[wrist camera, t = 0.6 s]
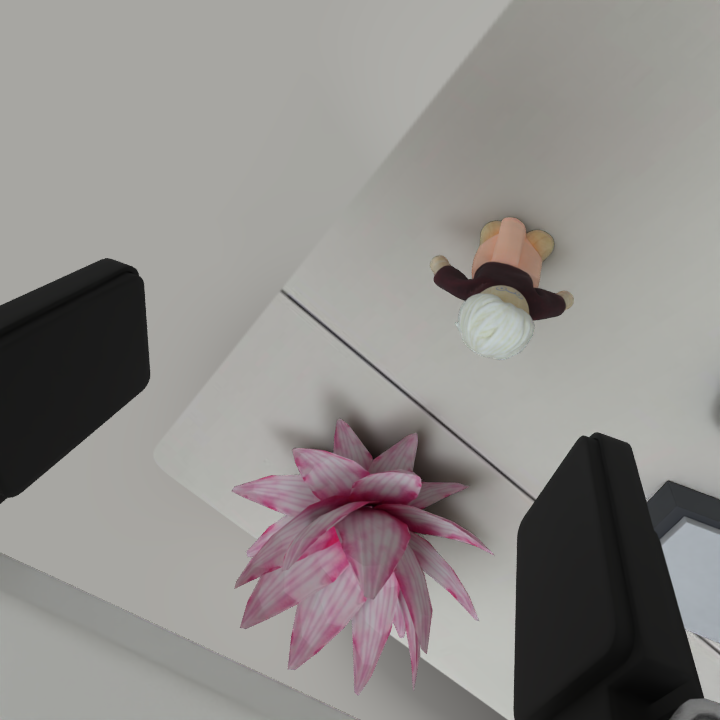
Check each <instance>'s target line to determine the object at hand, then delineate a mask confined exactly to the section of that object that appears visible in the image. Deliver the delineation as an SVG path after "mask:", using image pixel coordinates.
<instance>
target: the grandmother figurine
mask: <svg viewBox="0 0 720 720" xmlns="http://www.w3.org/2000/svg"><path fill="white" fill-rule="evenodd" d="M553 248H554V241H553V238H552V237H551V236H550V235H549V234H548V233H546V232H544V231H541V230H534V231H531V232H528V233H527V234H526V229H525V226H524V224H523V223H522V222H521V221H519V220H518V219H516V218H511V217H506V218H504V219H503V220H502V222H501V221H492V222H489V223H487V224H486V225H485V226H484V227H483V229H482V231H481V236H480V246H479V248H478V250H477V252H476V254H475V257H474V260H473V265H472V279H469V280H468V278H467V277H466V276H465V275H464V274H463V273H461V272H460V271H459V270H457V269H456V268H454V267H453V266H451V265H450V264H449V262H448V260H447V259H446V258H445V257H444V256H442V255H438V256H435V257H434V258H433V259H432V260H431V262H430V268H431V270H432V271H433V272H434V282H435V283H436V284H437V286H439V287H440V288H442V289H444V290H445V291H447V292H449V293H450V294H452V295H454V296H455V297H457V298H459V299H462V300H465V302H464V303H463V304H462V306H461V308H460V311H459V316H458V322H457V323H456V322H455V324H456V326H457V328H458V330H459V331H460V333H461V336H462V339H463V341H464V343H465V344H466V345H467V346H468V348H469V349H470V350H472V351H474V352H475V353H477V354H479V355H481V356H484V357H487V358H495V359H498V360H504V359H508V358H510V357H512V356H513V355H516V354H518V353H520V352H521V351H522V350H523V349H524V348H525V347H526V345H527V344H528V342H529V341H530V339H531V338H532V336H533V333H534V322H533V320H541V319H547V318H551V317H556V316H559V315H561V314H562V313H563V312H564V311H565V310H566V309H569V308H570V307H571V306H572V305H573V302H574V298H573V295H572V294H571V293H570V292H568V291H560V292H558V293H552V292H550V291H546V290H543V289H540V288H538V286H539V282H540V273H541V268H542V262H543V261H544V260H545V259H546V258H547V257H548V256H549V255H550V254H551V252H552V251H553Z"/></svg>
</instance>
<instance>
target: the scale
mask: <svg viewBox="0 0 720 720" xmlns="http://www.w3.org/2000/svg"><path fill="white" fill-rule="evenodd" d="M647 506H648V510H649V513H650V517H651V521H652V524H653V528H654V531H655V532H656V533H657V535H658V537H659V539H660V542H661V546H662V549H663V553H664V556H665V560H666V563H667V567H668V571H669V574H670V578H671V581H672V585H673V588H674V592H675V596H676V599H677V603H678V606H679V610H680V613H681V617H682V621H683V624H684V628H685V630H688V631H690V632H693V633H695V634H698V635H700V636H702V637H705V638H707V639H710V640H712V641H715V642H717V643H720V500H719V499H716V498H713V497H711V496H708V495H705V494H702V493H700V492H697V491H694V490H692V489H689V488H686V487H684V486H681V485H678V484H676V483H673V482H670V481H667V482H666V483H665V485H664V486H663V487H662V488H661V489H660V490H659V491H658V492H657V493H656V494H655V495H654V496H653V497H652V498H651V499H650V500H649V501H648V502H647Z"/></svg>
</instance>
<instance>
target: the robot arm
mask: <svg viewBox="0 0 720 720" xmlns="http://www.w3.org/2000/svg"><path fill="white" fill-rule="evenodd" d="M146 321H147V320H146V307H145V292H144V282H143V280H142V278H141V277H140V276H139V273H138V271H137V270H136V269H135V268H133V267H132V266H129V265H127V264H123V263H121V262H118V261H115V260H113V259H108V258H105V259H102V260H100V261H97V262H95V263H93V264H91V265H88V266H86V267H84V268H82V269H80V270H77V271H75V272H73V273H71V274H69V275H67V276H64V277H62V278H60V279H58V280H56V281H54V282H51V283H49V284H47V285H45V286H43V287H40V288H38V289H36V290H34V291H31V292H29V293H27V294H25V295H23V296H20V297H18V298H16V299H14V300H12V301H10V302H7V303H5V304H3V305H0V504H1V503H2V502H3V501H4V500H5V499H7V498H10V497H14V496H17V495H19V494H20V493H21V492H23V491H24V490H25V489H26V488H27V487H29V486H30V485H31V484H32V483H33V482H35V481H36V480H37V479H38V478H39V477H40V476H42V475H43V474H44V473H45V472H47V471H48V470H49V469H50V468H51V467H52V466H54V465H55V464H56V463H57V462H58V461H60V460H61V459H62V458H63V457H64V456H66V455H67V454H68V453H69V452H70V451H71V450H72V449H74V448H75V447H76V446H77V445H79V444H80V443H81V442H82V441H83V440H85V439H86V438H87V437H88V436H89V435H90V434H92V433H93V432H94V431H95V430H96V429H98V428H99V427H100V426H101V425H102V424H103V423H105V422H106V421H107V420H108V419H109V418H110V417H112V416H113V415H114V414H115V413H116V412H118V411H119V410H120V409H121V408H122V407H124V406H125V405H126V404H127V403H128V402H129V401H131V400H132V399H133V398H134V397H136V396H137V395H138V394H139V393H140V392H141V391H143V389H145V387H146V386H147V384H148V382H149V379H150V364H149V351H148V336H147V322H146ZM514 718H515V720H720V703H717V702H714V701H711V700H708V699H705V698H704V696H703V692H702V688H701V685H700V681H699V678H698V674H697V671H696V667H695V663H694V660H693V656H692V653H691V649H690V646H689V642H688V638H687V635H686V631H685V628H684V624H683V621H682V617H681V613H680V610H679V606H678V603H677V599H676V596H675V592H674V588H673V585H672V581H671V578H670V574H669V571H668V567H667V563H666V560H665V556H664V553H663V549H662V546H661V542H660V539H659V537H658V535H657V533H656V532H655V531H654V528H653V524H652V521H651V517H650V513H649V510H648V506H647V502H646V499H645V495H644V491H643V488H642V484H641V480H640V477H639V473H638V469H637V466H636V462H635V459H634V455H633V451H632V448H631V446H630V444H628V443H626V442H624V441H621V440H618V439H615V438H612V437H610V436H607V435H604V434H601V433H598V432H597V433H594V434H592V435H591V436H590V437H587V436H581V437H580V438H579V439H578V440H577V441H576V443H575V444H574V446H573V447H572V449H571V450H570V451H569V453H568V454H567V456H566V457H565V459H564V460H563V462H562V463H561V464H560V466H559V467H558V469H557V470H556V472H555V473H554V475H553V476H552V477H551V479H550V480H549V482H548V483H547V485H546V486H545V487H544V489H543V490H542V492H541V493H540V495H539V496H538V498H537V499H536V500H535V502H534V503H533V505H532V506H531V508H530V509H529V511H528V512H527V513H526V515H525V516H524V518H523V519H522V521H521V524H520V526H519V530H518V535H517V572H516V619H515V666H514ZM0 720H360V719H358V718H356V717H353V716H351V715H349V714H347V713H345V712H343V711H341V710H339V709H336V708H334V707H332V706H330V705H328V704H326V703H324V702H322V701H319V700H317V699H315V698H313V697H311V696H309V695H307V694H304V693H302V692H300V691H298V690H296V689H294V688H292V687H289V686H287V685H285V684H283V683H281V682H279V681H277V680H275V679H272V678H270V677H268V676H266V675H264V674H262V673H260V672H257V671H255V670H253V669H251V668H249V667H247V666H245V665H243V664H241V663H238V662H236V661H234V660H232V659H230V658H228V657H226V656H223V655H221V654H219V653H217V652H214V651H213V650H210V649H208V648H206V647H204V646H202V645H199V644H197V643H195V642H193V641H191V640H189V639H187V638H185V637H182V636H180V635H178V634H176V633H174V632H172V631H169V630H167V629H165V628H163V627H161V626H159V625H157V624H154V623H152V622H150V621H148V620H146V619H144V618H141V617H139V616H137V615H135V614H133V613H130V612H128V611H126V610H124V609H122V608H120V607H118V606H115V605H113V604H111V603H109V602H107V601H105V600H102V599H100V598H98V597H96V596H94V595H91V594H89V593H87V592H85V591H83V590H81V589H79V588H76V587H74V586H72V585H70V584H68V583H66V582H63V581H61V580H59V579H57V578H55V577H53V576H51V575H48V574H46V573H44V572H42V571H39V570H37V569H35V568H33V567H31V566H29V565H26V564H24V563H22V562H20V561H18V560H15V559H13V558H11V557H9V556H7V555H5V554H2V553H0Z"/></svg>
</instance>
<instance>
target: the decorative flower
mask: <svg viewBox="0 0 720 720" xmlns="http://www.w3.org/2000/svg"><path fill="white" fill-rule="evenodd" d="M417 445H418V436H417V433H415V434H410V435H408V436H406V437H405V438H403V439H402V440H401V441H399V442H398V443H396V444H395V445H393V446H392V447H391V448H389V449H388V450H386V451H385V452H384V453H382V454H381V455H379V456H378V457H376V458H375V459H374V460H373V458H372V455H371V454H370V453H369V451H368V450H367V449H366V447H365V446H364V445H363V443H362V442H361V441H360V439H359V438H358V437H357V435H356V434H355V433H354V431H353V430H352V429H351V427H350V426H349V425H348V424H347V423H345V422H344V421H343V420H342V419H341V418H339V419H337V423H336V430H335V436H334V450H333V453H331V452H328V451H324V450H318V449H307V448H294V449H292V451H293V455H294V459H295V463H296V465H297V467H298V469H299V472H300V474H301V475H271V476H268V477H264V478H261V479H258V480H255V481H251V482H248V483H245V484H242V485H239V486H235V487H234V488H233V490H232V492H234V493H236V494H238V495H240V496H242V497H244V498H247V499H249V500H252V501H254V502H256V503H259V504H261V505H263V506H266V507H268V508H271V509H273V510H275V511H278V512H280V513H283V514H285V515H286V516H284V517H283V518H281V519H280V520H278V521H277V522H276V523H274V524H273V525H271V526H270V527H269V528H268V529H267V530H266V531H265V532H264V533H263V534H262V535H261V536H260V537H259V539H258V540H257V541H256V542H255V543H254V544H253V545H252V546H251V547H250V548H249V550H248V551H247V556H248V557H253V558H252V559H251V560H250V562H249V563H248V565H247V566H246V568H245V569H244V571H243V572H242V574H241V576H240V577H239V579H238V580H237V581H236V585H235V588H237V587H239V586H241V585H243V584H245V583H247V582H249V581H252V580H254V579H256V578H258V577H260V579H259V581H258V583H257V585H256V587H255V589H254V591H253V593H252V595H251V596H250V598H249V600H248V602H247V605H246V609H245V612H244V616H243V619H242V623H241V626H240V628H244V629H247V628H249V627H251V626H254V625H256V624H258V623H260V622H263V621H265V620H267V619H269V618H271V617H273V616H275V615H277V614H279V613H281V612H283V611H285V610H287V609H289V608H291V607H293V606H294V605H297V604H298V605H297V610H296V615H295V620H294V625H293V631H292V636H291V644H290V653H289V662H288V669H291V670H295V669H297V668H298V667H299V666H301V665H302V664H303V663H305V662H306V661H307V660H308V659H310V658H311V657H312V656H314V655H315V654H316V653H317V652H319V651H320V650H321V649H322V648H323V647H324V646H325V645H326V644H327V643H328V642H329V641H330V640H332V639H333V638H334V637H335V636H336V635H337V634H338V633H339V632H340V631H341V630H342V629H343V628H344V627H345V626H346V625H347V624H348V622H349V621H350V620H351V619H352V633H353V660H354V690H355V693H356V694H357V695H359V694H360V692H361V691H362V689H363V688H364V686H365V685H366V683H367V682H368V681H369V679H370V678H371V676H372V673H373V671H374V669H375V667H376V664H377V662H378V660H379V657H380V655H381V653H382V650H383V648H384V646H385V643H386V641H387V639H388V636H389V634H390V632H391V628H392V623H394V625H395V628H396V630H397V632H398V635H399V637H400V638H404V634H405V631H406V632H407V638H408V644H409V651H410V657H411V664H412V681H413V690H414V687H415V681H416V675H417V670H418V664H419V658H420V646H421V649H422V650H423V651H424V652H425V653H426V654H427V649H428V641H429V633H430V625H431V617H432V606H431V602H430V597H429V593H428V589H427V584H426V580H425V575H424V573H423V571H425V572H426V573H427V574H428V575H429V576H431V577H432V578H433V579H434V580H435V581H437V582H438V583H439V584H440V585H441V586H443V587H444V588H445V589H446V590H447V591H449V592H450V593H451V594H452V595H453V596H454V597H455V599H456V600H457V601H458V602H459V603H460V604H461V605H462V606H463V607H464V608H465V609H466V610H467V611H468V612H469V613H470V614H471V615H472V617H473V618H474V619H475V620H477V621H479V619H478V617H477V614H476V612H475V609H474V607H473V604H472V602H471V599H470V597H469V595H468V593H467V591H466V590H465V588H464V587H463V585H462V583H461V582H460V580H459V578H458V577H457V575H456V574H455V572H454V570H453V569H452V568H451V567H450V566H449V565H448V563H447V562H446V561H445V560H444V559H443V558H442V557H441V556H440V554H439V553H438V552H437V551H436V550H435V549H434V548H433V546H432V545H431V544H430V543H429V542H428V541H427V540H425V539H423V538H422V537H420V536H418V535H417V534H415V533H421V534H428V535H433V536H439V537H445V538H450V539H454V540H457V541H460V542H464V543H467V544H471V545H474V546H477V547H479V548H481V549H483V550H485V551H486V552H488V553H490V554H492V555H494V554H493V553H492V552H491V551H490V550H489V549H488V548H487V547H486V546H485V545H484V544H483V543H482V542H481V541H480V540H479V539H478V538H477V537H476V536H475V535H474V534H472V533H471V532H469V531H467V530H466V529H464V528H463V527H461V526H460V525H458V524H457V523H455V522H454V521H451V520H448V519H446V518H443V517H440V516H438V515H435V514H432V513H430V512H427V511H424V510H422V509H424V508H426V507H428V506H430V505H432V504H434V503H436V502H438V501H440V500H442V499H443V498H445V497H447V496H450V495H452V494H454V493H457V492H459V491H461V490H464V489H466V488H468V487H470V486H466V485H463V484H460V483H451V482H422V481H423V480H424V479H420V477H419V476H418V475H416V474H415V473H414V472H413V467H414V462H415V456H416V451H417ZM413 532H415V533H413ZM494 556H495V555H494ZM422 570H423V571H422Z"/></svg>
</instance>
